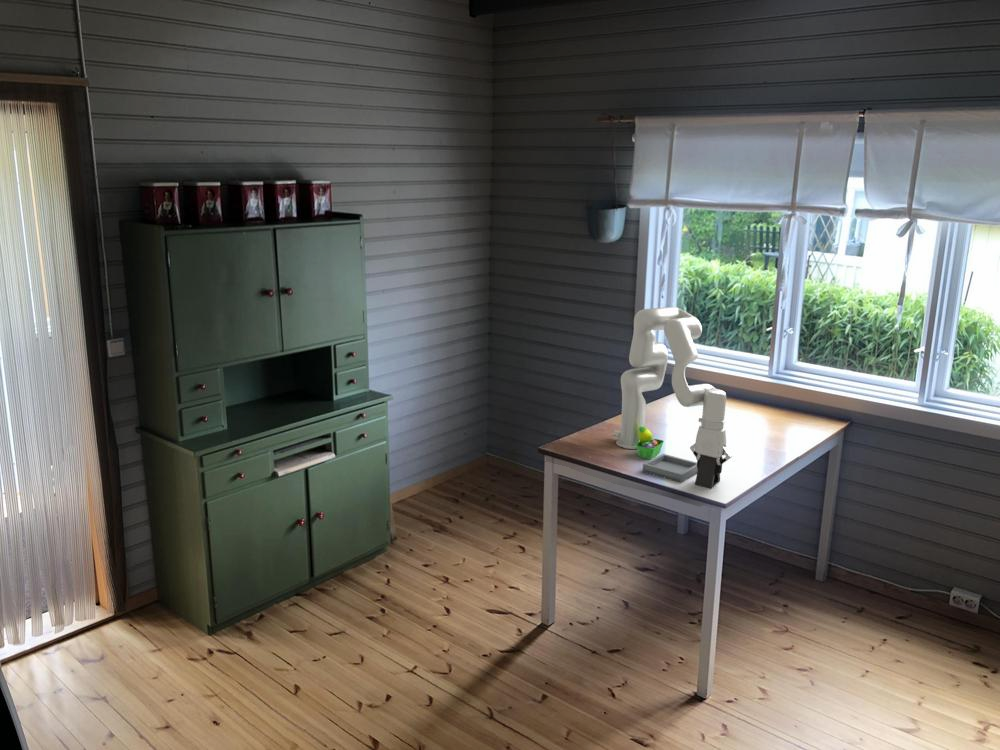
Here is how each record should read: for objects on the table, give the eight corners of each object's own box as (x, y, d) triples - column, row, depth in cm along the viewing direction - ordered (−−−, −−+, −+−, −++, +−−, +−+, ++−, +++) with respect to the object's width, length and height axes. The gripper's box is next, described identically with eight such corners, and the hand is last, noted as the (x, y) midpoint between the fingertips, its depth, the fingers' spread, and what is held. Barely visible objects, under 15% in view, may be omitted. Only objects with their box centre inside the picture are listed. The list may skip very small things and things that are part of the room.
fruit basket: (652, 461, 308) (654, 433, 305) (631, 456, 312) (633, 429, 310) (663, 452, 317) (665, 425, 314) (643, 448, 322) (644, 421, 319)
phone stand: (710, 488, 282) (713, 456, 279) (694, 484, 285) (697, 452, 282) (720, 481, 289) (722, 449, 286) (704, 477, 292) (706, 446, 289)
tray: (642, 471, 297) (643, 464, 296) (662, 461, 308) (663, 453, 307) (681, 482, 287) (682, 474, 286) (700, 471, 298) (701, 463, 297)
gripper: (685, 421, 284) (682, 469, 289) (731, 431, 274) (726, 481, 278) (695, 416, 290) (691, 463, 294) (740, 426, 279) (736, 475, 284)
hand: (708, 471), depth 286 cm, fingers closed on phone stand, 6 cm apart
